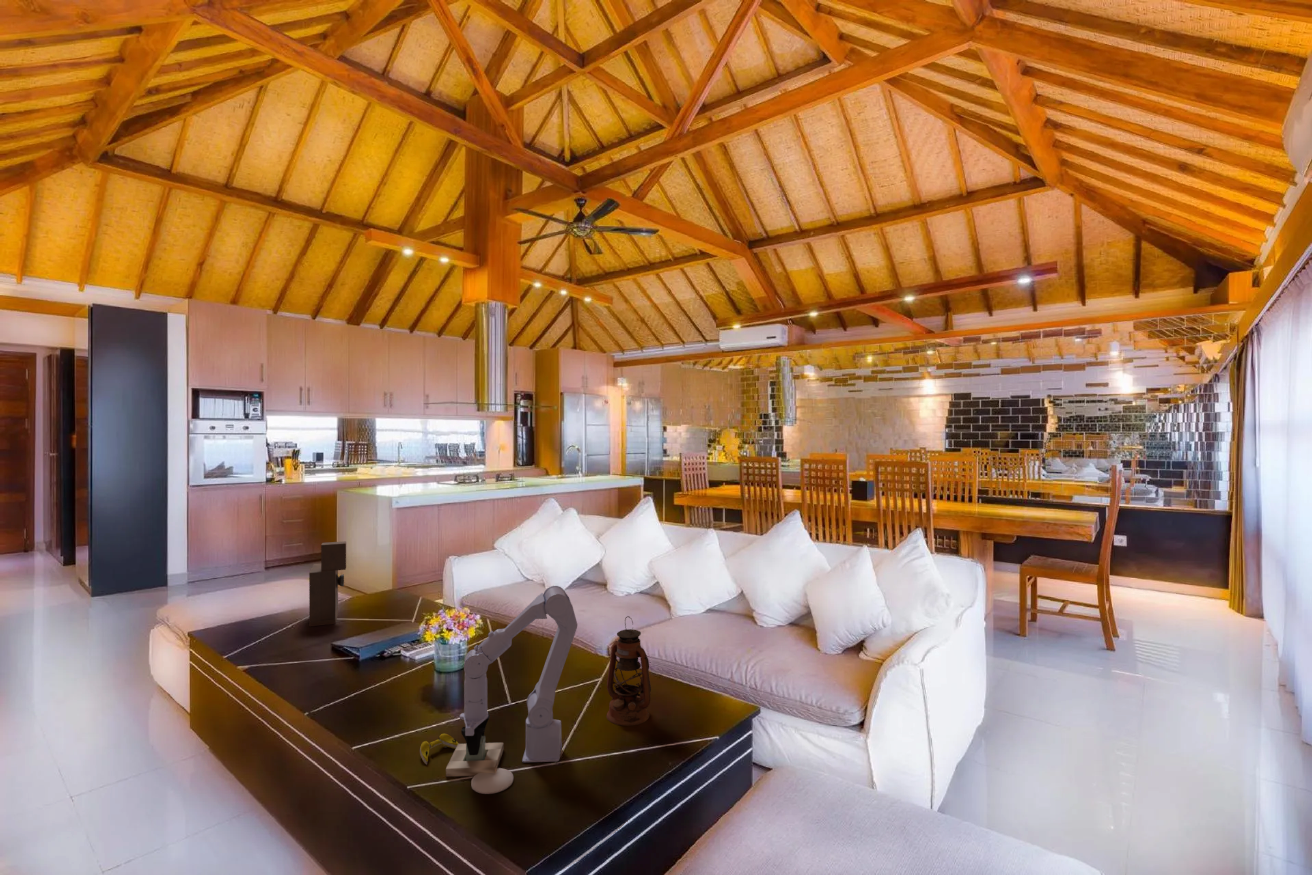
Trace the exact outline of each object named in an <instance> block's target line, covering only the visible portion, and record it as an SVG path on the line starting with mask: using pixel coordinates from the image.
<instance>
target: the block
mask: <svg viewBox="0 0 1312 875" xmlns="http://www.w3.org/2000/svg"><path fill="white" fill-rule="evenodd" d="M485 743H486V735H484V736H481V741H480V748H479V752H478V755H469V751H468V747H467V743H466V742H465V744H466V761H480V760H485Z"/></svg>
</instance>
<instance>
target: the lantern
mask: <svg viewBox="0 0 1312 875" xmlns="http://www.w3.org/2000/svg"><path fill="white" fill-rule="evenodd" d="M627 618H629V619H631V622H632V624H634V622H633V619H632V618H631V617H630V616H629V615H627V616H626V617H625V619H624V626H625V629H621V630H620V631H617V633H616V635H617V637H619V638H618V639H617V640H615V641H614V642H613V643H612V645H611V647H610V649H611V651H610V659H609V664H608V666H609V667H608V673H607V679H606V689H607V692H608V694H609V695H610V697H611V700H610V701H609V703H608V704H609V705H608V706H609V707H608V711H607V713H606V719H607V721H609V722H610V723H611V724H614V725H618V726H625V727H631V726H637V725H641V724H643V723H646V721H647V720H648V719H649V718H650V713H649V710H648V707H649V706H650V703H651V691H652V686H651V685H652V684H651V680H650V673H649V671H650V661H649V657H648V655H647V653H646V651H645V650H644V648H643V647H642V645H641V639H640V636H641V635H642V632H641V631H639V630H637V629H634V628H631V629H629V628H627V625H626V624H627V623H626V620H627ZM617 658H618V659H617ZM639 658H640V662H639ZM618 660H619V661H618ZM640 668H641V671H640V672H638V670H639V669H640ZM618 670H619V671H620V675H621V677H622V681H620V680H619V679H618V678H619V677H618V676H617V674H618V672H617V671H618ZM623 671H624V672H634V671H635V674H632V676H630V677H629V678H628V679H625V678H624V674H623ZM638 677H639V678H640V682H638V683H636V684H628V683H627V682H629V681H630V680H633V679H636V678H638ZM614 680H615V681H616V682H615V681H614ZM614 688H615V689H614Z"/></svg>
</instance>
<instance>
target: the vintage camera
mask: <svg viewBox="0 0 1312 875" xmlns="http://www.w3.org/2000/svg"><path fill="white" fill-rule="evenodd" d="M320 551H321V552H320V554H321V555H320V559H321V560H320V563H313V564H312V567H311V569H310V570H309V573H308V578H309V579H308V580H309V583H308V585H309V586H308V587H309V589H308V593H309V595H308V596H309V597H308V598H309V600H308V603H309V606H308V607H309V608H308V610H309V611H308V612H309V615H308V616H309V617H308V618H309V623H308V627H315V626H323V625H325V626H326V625H332V624H333V625H334V624H336V623H337V619H338V615H339V586H340V587H344V586H345V575H344V574H341V575H339V571H344V570H346V569H347V541H333V542H329V541H328V542H322V543H321V544H320Z"/></svg>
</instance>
